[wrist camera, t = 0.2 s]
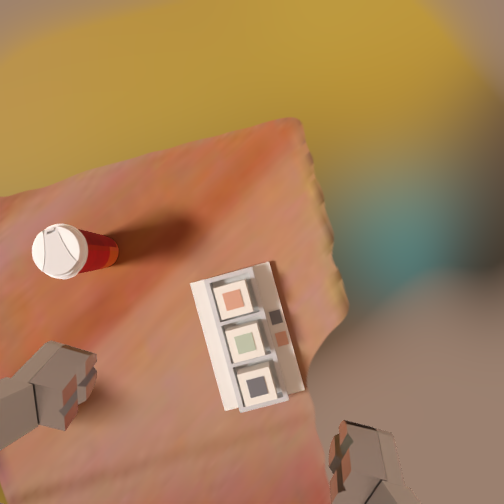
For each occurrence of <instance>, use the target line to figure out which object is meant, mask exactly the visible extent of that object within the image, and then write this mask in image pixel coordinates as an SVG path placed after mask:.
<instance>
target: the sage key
mask: <svg viewBox="0 0 504 504" xmlns="http://www.w3.org/2000/svg"><path fill="white" fill-rule="evenodd" d="M225 333H226V337H227V341H228V344H229V348H230V352H231V355H232V359H233V362H234V363H237V362H241V361H245V360H249V359H252V358H256V357H260V356H264V355H265V352H266V350H265V346H264V343H263V339H262V336H261V332H260V328H259V325H258V321H257V320H255V321H251V322H247V323H244V324H240V325H236V326H232V327H229V328H227V329H226V331H225Z"/></svg>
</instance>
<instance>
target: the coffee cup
mask: <svg viewBox="0 0 504 504" xmlns="http://www.w3.org/2000/svg"><path fill="white" fill-rule="evenodd" d="M118 255H119V249H118V246H117V244H116V242H115V241H114V240H113V239H111V238H109V237H107V236H104V235H100V234H96V233H92V232H88V231H84V230H79V229H77V228H75V227H73V226H71V225H68V224H55V225H52V226H49V227H48V228H46V229H45V230H43V231H42V232H40V233H39V234H38V235H37V237H36V238H35V240H34V243H33V246H32V256H33V259H34V262H35V264H36V265H37V267H38V268H39V269H40V270H41V271H43V272H44V273H46V274H47V275H49V276H51V277H54V278H59V279H69V278H71V277H74V276H75V275H77V274H78V273H83V272H88V271H93V270H98V269H102V268H106V267H109V266H111V265H112V264H114V263H115V261H116V260H117V258H118Z"/></svg>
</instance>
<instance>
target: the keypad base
mask: <svg viewBox="0 0 504 504" xmlns="http://www.w3.org/2000/svg"><path fill="white" fill-rule="evenodd" d="M243 279H246V282H247V285H248V289H249V292H250V296H251V300H252V303H253V307H254V311H253V312H250V313H246V314H242V315H239V316H235V317H231V318H228V319H224V320H222V319H221V315H220V312H219V308H218V304H217V301H216V297H215V293H214V290H213V288H215V287H217V286H221V285H224V284H228V283H232V282H235V281H239V280H243ZM190 285H191V289H192V293H193V296H194V300H195V304H196V307H197V311H198V315H199V318H200V322H201V326H202V329H203V333H204V336H205V340H206V344H207V347H208V351H209V355H210V358H211V362H212V366H213V369H214V373H215V377H216V380H217V384H218V388H219V391H220V395H221V398H222V402H223V406H224V409H225V411H227V410H231V409H235V408H239V410H240V413H242V412H246V411H250V410H254V409H257V408H261V407H265V406H269V405H273V404H277V403H280V402H284V401H288V400H289V396H288V395H289V394H292V393H296V392H300V391H304V390H305V389H304V385H303V381H302V378H301V374H300V371H299V367H298V364H297V360H296V356H295V353H294V349H293V346H292V342H291V338H290V335H289V331H288V328H287V324H286V321H285V317H284V313H283V310H282V306H281V303H280V299H279V296H278V292H277V288H276V285H275V281H274V278H273V274H272V270H271V267H270V263H269V262H265V263H262V264H258V265H255V266H251V267H247V268H244V269H240V270H237V271H233V272H229V273H226V274H222V275H219V276H215V277H211V278H208V279H204V280H201V281H197V282H193V283H190ZM255 320H257V321H258V325H259V328H260V332H261V336H262V339H263V343H264V346H265V350H266V352H265V355H264V356H260V357H256V358H252V359H249V360H245V361H241V362H237V363H234V362H233V359H232V355H231V352H230V348H229V344H228V341H227V337H226V333H225V331H226V329H227V328H229V327H232V326H236V325H240V324H244V323H247V322H251V321H255ZM268 361H269V364H270V368H271V372H272V375H273V379H274V382H275V386H276V390H277V398H278V399H274V400H271V401H267V402H263V403H259V404H255V405H251V406H248V407H246V406H245V402H244V399H243V395H242V391H241V388H240V384H239V381H238V377H237V373H238V369H241V368H245V367H249V366H253V365H256V364H260V363H264V362H268Z"/></svg>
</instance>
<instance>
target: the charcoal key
mask: <svg viewBox="0 0 504 504" xmlns="http://www.w3.org/2000/svg"><path fill="white" fill-rule="evenodd" d="M237 377H238V381H239V384H240V388H241V391H242V395H243V399H244V402H245V406H246V407H248V406H251V405H255V404H259V403H263V402H267V401H271V400H274V399H278V398H277V390H276V386H275V382H274V379H273V375H272V372H271V368H270V364H269V361H268V362H264V363H260V364H256V365H253V366H249V367H245V368H241V369H238V373H237Z"/></svg>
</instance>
